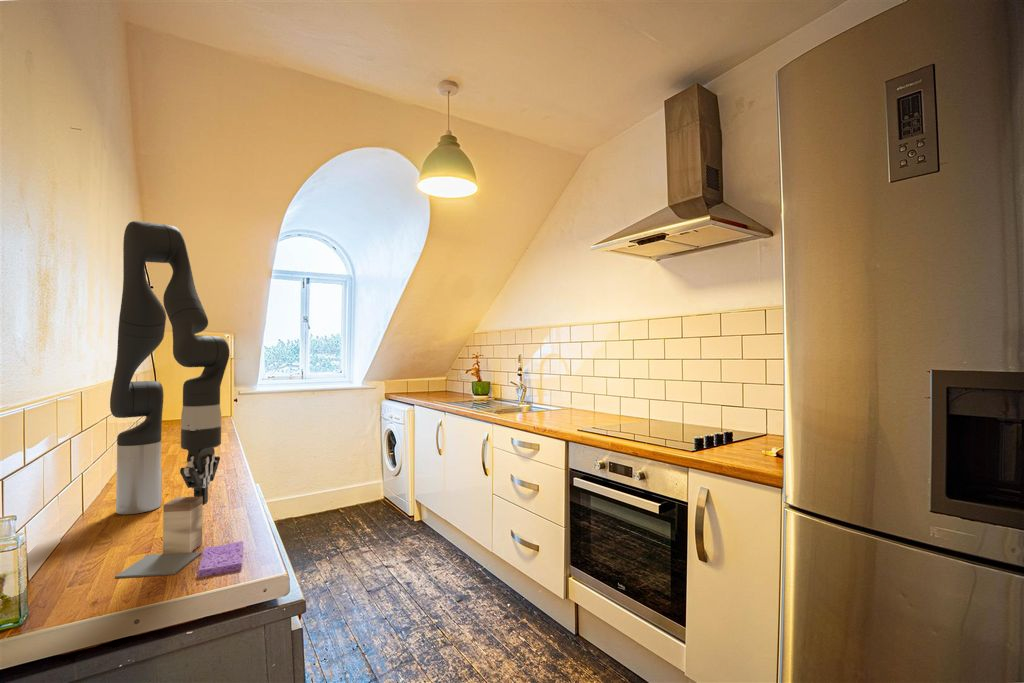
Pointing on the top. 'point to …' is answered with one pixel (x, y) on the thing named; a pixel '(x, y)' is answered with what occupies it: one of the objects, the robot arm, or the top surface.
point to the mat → (159, 565)
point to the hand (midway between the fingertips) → (200, 504)
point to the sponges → (221, 559)
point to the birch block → (182, 524)
